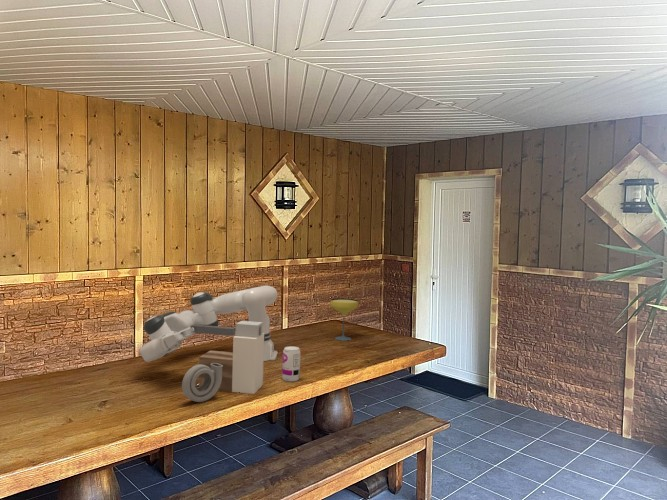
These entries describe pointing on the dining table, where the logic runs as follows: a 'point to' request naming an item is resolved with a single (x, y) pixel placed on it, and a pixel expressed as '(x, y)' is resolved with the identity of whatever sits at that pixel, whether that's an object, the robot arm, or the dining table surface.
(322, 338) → the dining table surface
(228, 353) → the step
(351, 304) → the cocktail glass
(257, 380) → the stand
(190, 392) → the turbocharger housing
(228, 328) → the metal bar
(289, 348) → the supplement can
